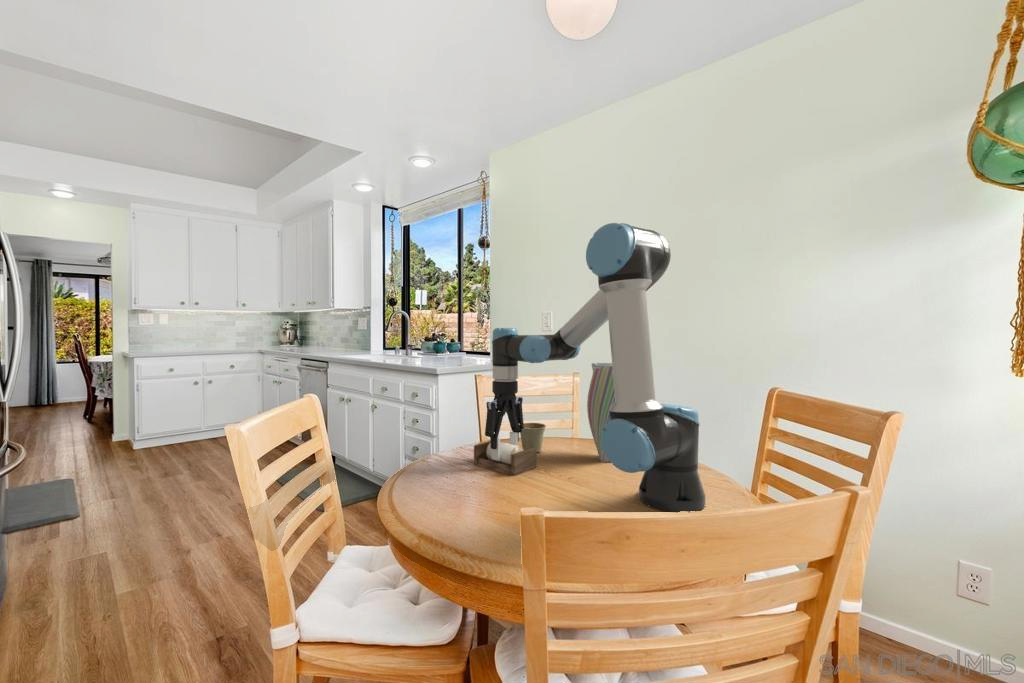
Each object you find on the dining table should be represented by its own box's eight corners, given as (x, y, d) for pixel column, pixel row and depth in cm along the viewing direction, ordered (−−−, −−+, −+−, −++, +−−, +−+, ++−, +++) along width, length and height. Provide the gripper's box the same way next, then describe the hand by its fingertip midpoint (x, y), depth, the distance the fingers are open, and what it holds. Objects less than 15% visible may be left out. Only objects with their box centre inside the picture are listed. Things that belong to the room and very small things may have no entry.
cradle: (536, 467, 136) (536, 448, 136) (514, 476, 129) (514, 455, 129) (496, 457, 147) (496, 439, 147) (474, 464, 139) (474, 445, 139)
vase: (583, 453, 152) (584, 361, 150) (625, 453, 151) (626, 362, 150) (589, 466, 138) (589, 365, 137) (634, 466, 137) (636, 366, 136)
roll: (524, 464, 137) (524, 444, 136) (510, 469, 132) (510, 448, 132) (499, 457, 143) (499, 438, 143) (486, 462, 139) (486, 442, 139)
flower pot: (514, 448, 157) (514, 423, 157) (539, 446, 160) (540, 421, 160) (522, 456, 148) (523, 429, 148) (550, 453, 151) (550, 427, 151)
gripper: (517, 376, 147) (517, 447, 148) (471, 382, 132) (471, 461, 132) (536, 377, 142) (535, 451, 143) (490, 384, 127) (490, 467, 128)
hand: (505, 456), depth 138 cm, fingers open, 7 cm apart
